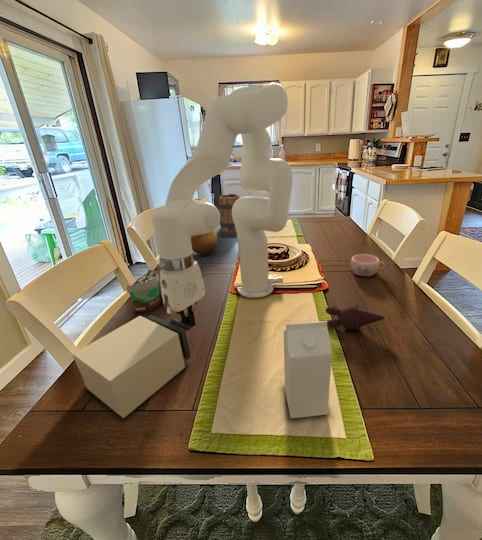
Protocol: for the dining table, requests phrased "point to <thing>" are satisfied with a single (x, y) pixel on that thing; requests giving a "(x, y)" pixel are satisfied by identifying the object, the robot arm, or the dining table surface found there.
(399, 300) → the dining table surface
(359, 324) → the icecream
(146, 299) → the food container
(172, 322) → the drawer
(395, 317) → the dining table surface
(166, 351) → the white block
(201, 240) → the butternut squash
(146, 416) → the dining table surface
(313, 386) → the milk carton
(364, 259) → the mug
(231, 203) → the tankard
